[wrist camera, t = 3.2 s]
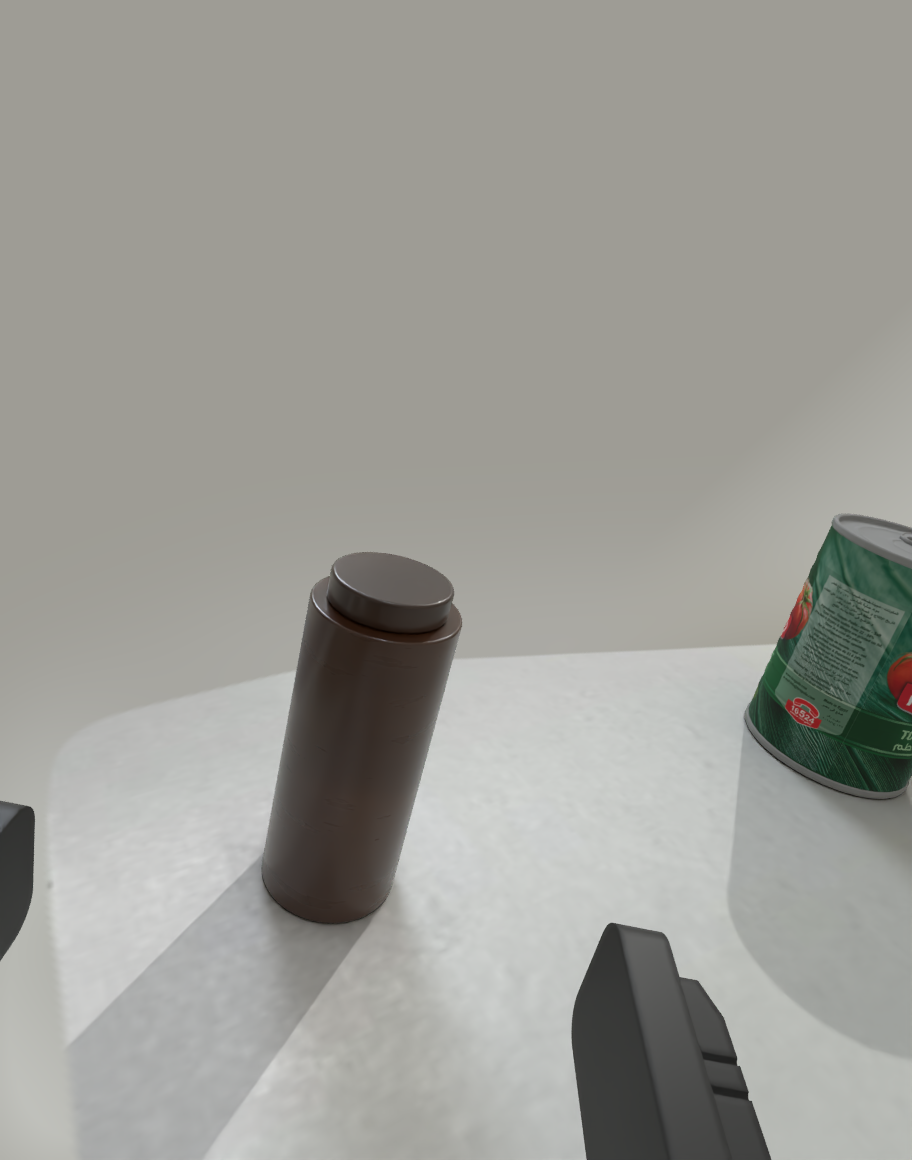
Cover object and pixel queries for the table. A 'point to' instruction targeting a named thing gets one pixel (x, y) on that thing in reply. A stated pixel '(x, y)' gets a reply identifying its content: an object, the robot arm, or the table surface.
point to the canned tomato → (846, 665)
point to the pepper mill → (358, 733)
